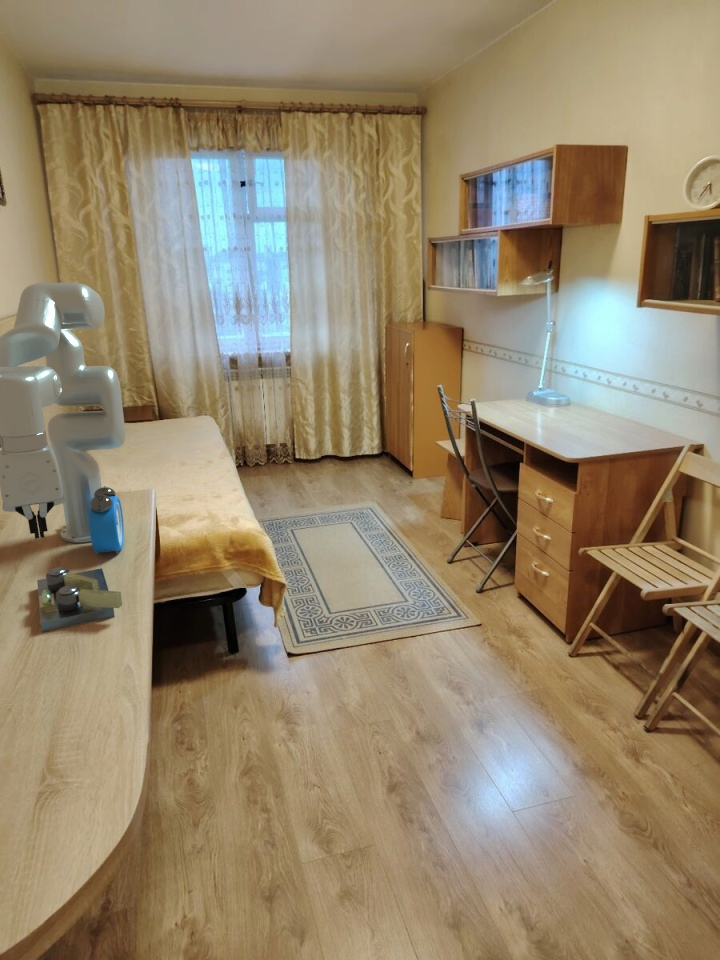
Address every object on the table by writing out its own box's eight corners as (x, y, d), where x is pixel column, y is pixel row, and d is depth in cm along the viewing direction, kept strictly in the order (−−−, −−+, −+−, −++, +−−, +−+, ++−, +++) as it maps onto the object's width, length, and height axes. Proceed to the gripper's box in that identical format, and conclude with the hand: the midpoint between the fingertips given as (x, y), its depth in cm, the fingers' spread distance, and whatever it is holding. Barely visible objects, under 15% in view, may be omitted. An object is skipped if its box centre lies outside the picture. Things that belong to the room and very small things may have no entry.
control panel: (38, 588, 143) (35, 569, 141) (103, 576, 148) (100, 558, 147) (41, 632, 126) (38, 611, 124) (114, 616, 131) (112, 596, 130)
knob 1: (43, 588, 138) (40, 572, 137) (60, 580, 141) (58, 564, 140) (88, 601, 132) (85, 584, 131) (105, 591, 136) (103, 575, 135)
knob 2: (53, 610, 129) (50, 593, 128) (66, 599, 133) (63, 583, 132) (115, 614, 127) (113, 597, 126) (126, 603, 131) (124, 587, 130)
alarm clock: (120, 559, 157) (113, 499, 152) (92, 562, 155) (84, 501, 151) (125, 538, 169) (119, 482, 164) (99, 541, 168) (92, 484, 163)
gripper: (-24, 452, 115) (-5, 550, 121) (70, 442, 121) (83, 535, 127) (-22, 442, 121) (-5, 536, 127) (67, 433, 128) (79, 522, 134)
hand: (39, 535), depth 127 cm, fingers closed
